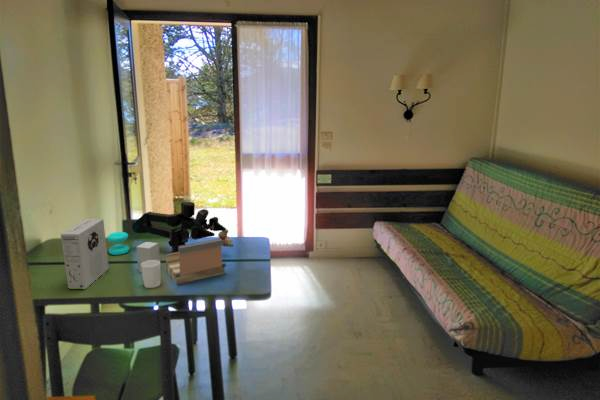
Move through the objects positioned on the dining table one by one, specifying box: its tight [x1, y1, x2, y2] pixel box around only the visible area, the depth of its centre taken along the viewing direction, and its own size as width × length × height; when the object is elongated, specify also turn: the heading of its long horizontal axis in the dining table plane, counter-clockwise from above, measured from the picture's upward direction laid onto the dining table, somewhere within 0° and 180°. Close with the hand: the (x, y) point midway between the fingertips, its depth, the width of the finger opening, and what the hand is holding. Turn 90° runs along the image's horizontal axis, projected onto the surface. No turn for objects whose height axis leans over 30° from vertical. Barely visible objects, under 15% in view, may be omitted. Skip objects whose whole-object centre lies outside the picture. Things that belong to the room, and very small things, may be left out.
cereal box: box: [60, 218, 110, 289], centre depth 189 cm, size 22×8×25 cm, turn 178°
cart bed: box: [165, 252, 227, 285], centre depth 197 cm, size 18×23×8 cm
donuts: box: [106, 231, 131, 256], centre depth 222 cm, size 10×10×10 cm
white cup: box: [141, 260, 162, 289], centre depth 185 cm, size 8×8×10 cm
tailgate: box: [178, 237, 223, 275], centre depth 188 cm, size 3×19×13 cm, turn 122°
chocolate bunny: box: [217, 227, 234, 247], centre depth 234 cm, size 6×8×10 cm
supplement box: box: [135, 241, 162, 273], centre depth 200 cm, size 7×7×13 cm
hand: (219, 231), depth 206 cm, fingers open, 9 cm apart
